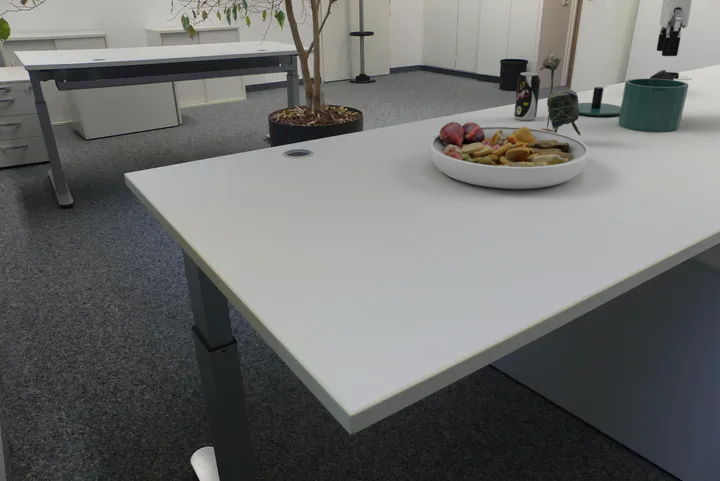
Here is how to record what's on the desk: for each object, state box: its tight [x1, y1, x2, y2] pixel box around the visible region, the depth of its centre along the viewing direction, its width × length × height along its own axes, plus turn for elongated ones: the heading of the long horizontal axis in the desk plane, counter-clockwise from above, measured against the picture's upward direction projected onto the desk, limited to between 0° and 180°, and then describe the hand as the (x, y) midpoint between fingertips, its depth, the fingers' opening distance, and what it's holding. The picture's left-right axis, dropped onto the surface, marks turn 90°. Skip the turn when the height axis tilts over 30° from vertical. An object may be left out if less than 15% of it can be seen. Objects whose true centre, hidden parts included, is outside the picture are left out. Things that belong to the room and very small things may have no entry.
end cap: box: [649, 69, 680, 80], centre depth 174 cm, size 10×7×7 cm
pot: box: [618, 77, 690, 133], centre depth 136 cm, size 14×19×10 cm
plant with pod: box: [539, 51, 582, 137], centre depth 122 cm, size 8×11×20 cm
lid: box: [578, 86, 621, 117], centre depth 153 cm, size 15×15×7 cm
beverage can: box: [513, 71, 541, 122], centre depth 145 cm, size 6×6×12 cm
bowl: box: [428, 121, 591, 190], centre depth 107 cm, size 30×30×8 cm
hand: (666, 53), depth 133 cm, fingers open, 9 cm apart
